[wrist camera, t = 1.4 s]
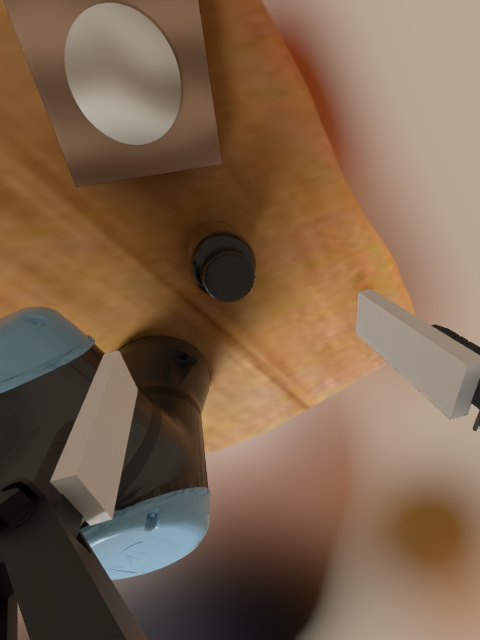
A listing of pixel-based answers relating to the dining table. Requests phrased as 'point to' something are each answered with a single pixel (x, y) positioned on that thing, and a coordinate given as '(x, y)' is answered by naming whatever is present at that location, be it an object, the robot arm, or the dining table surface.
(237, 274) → the supplement bottle
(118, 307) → the dining table surface
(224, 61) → the dining table surface
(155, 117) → the walnut plinth
